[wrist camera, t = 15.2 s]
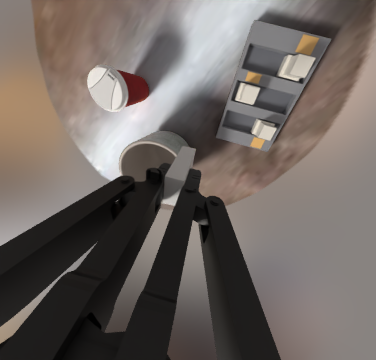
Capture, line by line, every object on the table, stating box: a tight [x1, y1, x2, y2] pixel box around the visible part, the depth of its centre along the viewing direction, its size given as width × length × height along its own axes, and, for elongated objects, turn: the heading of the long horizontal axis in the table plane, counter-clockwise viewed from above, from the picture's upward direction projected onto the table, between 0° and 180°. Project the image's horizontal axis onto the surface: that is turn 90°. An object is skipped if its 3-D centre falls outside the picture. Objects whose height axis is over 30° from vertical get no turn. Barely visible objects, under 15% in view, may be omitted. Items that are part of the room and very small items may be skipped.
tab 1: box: [234, 83, 260, 105], centre depth 31 cm, size 3×4×6 cm
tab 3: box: [276, 54, 316, 81], centre depth 28 cm, size 3×4×6 cm
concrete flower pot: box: [119, 131, 189, 204], centre depth 40 cm, size 17×17×15 cm
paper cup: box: [88, 64, 149, 112], centre depth 33 cm, size 8×8×14 cm
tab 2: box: [251, 118, 277, 141], centre depth 35 cm, size 3×4×6 cm
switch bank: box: [216, 20, 331, 152], centre depth 33 cm, size 22×14×3 cm, turn 167°
